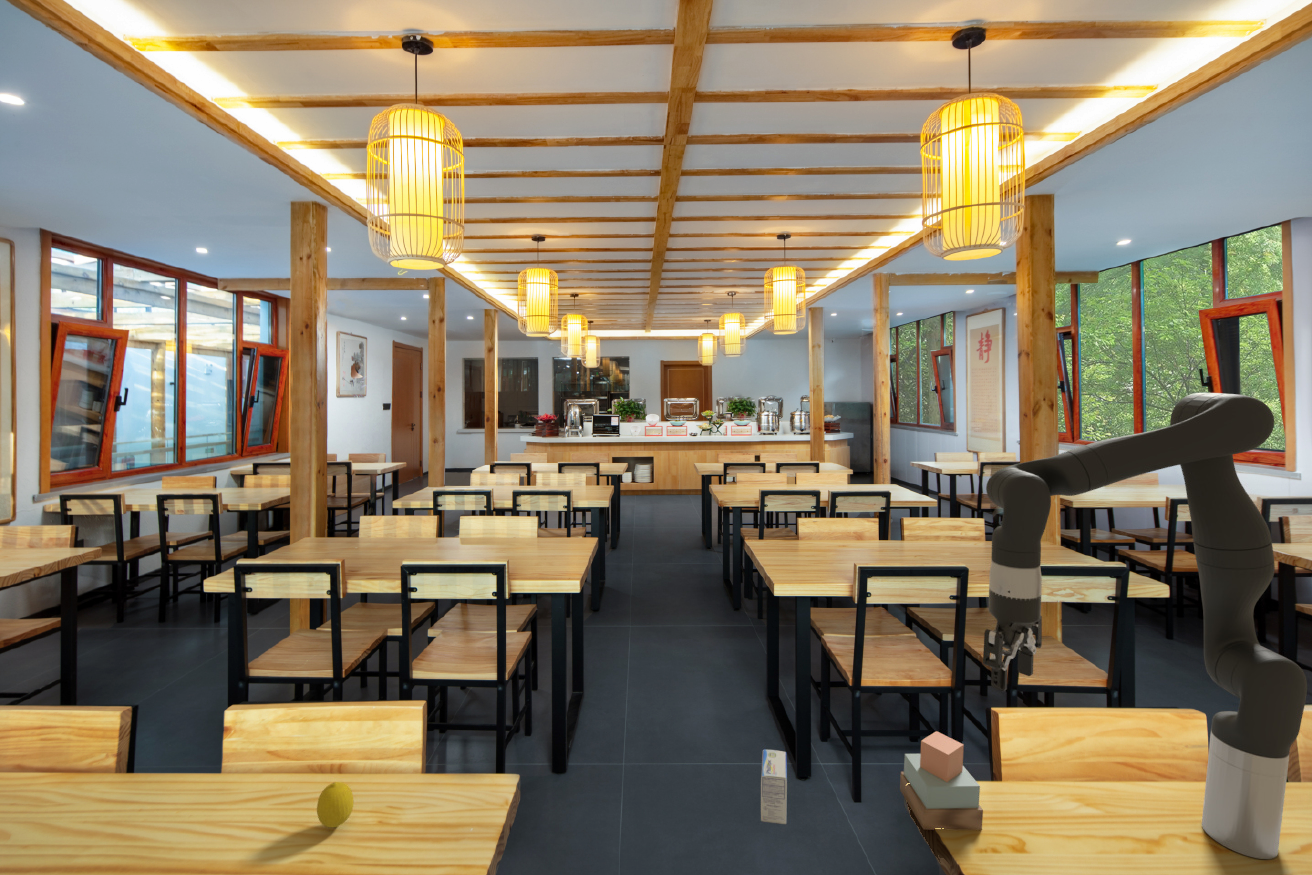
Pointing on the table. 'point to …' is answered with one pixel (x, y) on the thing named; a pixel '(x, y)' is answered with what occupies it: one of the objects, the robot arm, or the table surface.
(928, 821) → the tower base block
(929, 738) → the terracotta block
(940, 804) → the tower top block
